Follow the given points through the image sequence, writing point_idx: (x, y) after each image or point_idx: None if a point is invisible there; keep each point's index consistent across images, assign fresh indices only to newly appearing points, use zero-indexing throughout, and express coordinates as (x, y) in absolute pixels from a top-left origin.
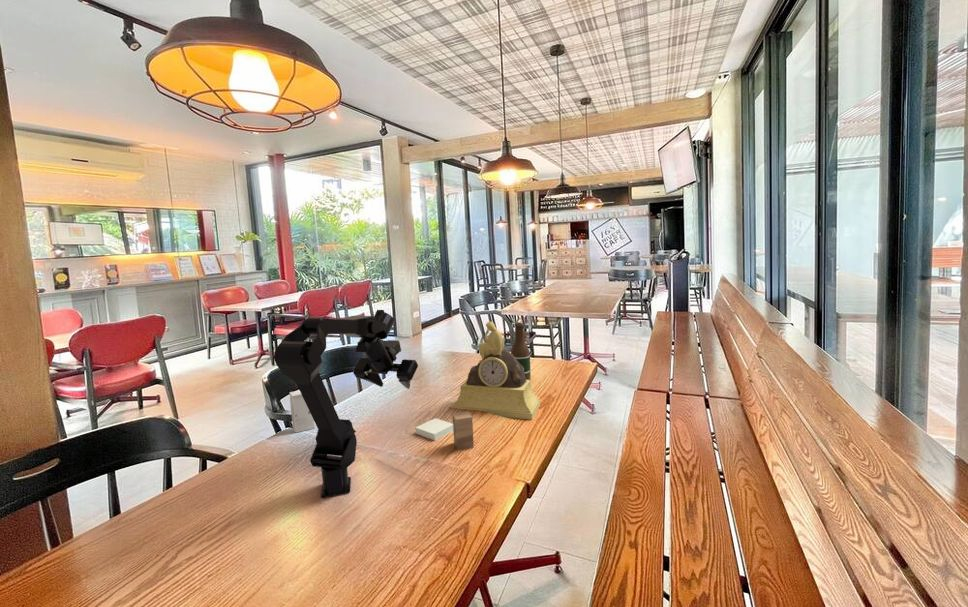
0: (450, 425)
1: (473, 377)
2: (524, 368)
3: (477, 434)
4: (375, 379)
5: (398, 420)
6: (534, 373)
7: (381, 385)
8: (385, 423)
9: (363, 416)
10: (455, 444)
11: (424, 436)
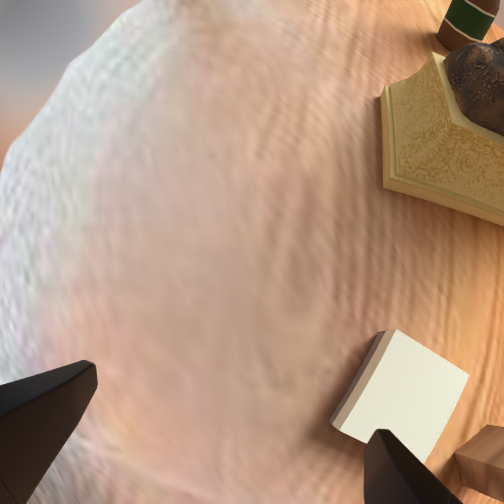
0: (460, 387)
1: (501, 107)
2: (483, 33)
3: (497, 356)
4: (25, 466)
5: (203, 264)
6: None
7: (89, 394)
8: (157, 293)
9: (66, 231)
10: (468, 471)
11: None
